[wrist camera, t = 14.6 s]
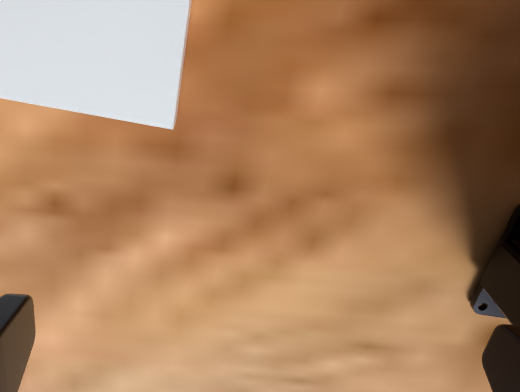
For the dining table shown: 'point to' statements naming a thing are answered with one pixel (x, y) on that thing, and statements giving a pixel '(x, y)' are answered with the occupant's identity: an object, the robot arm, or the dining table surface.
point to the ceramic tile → (96, 56)
